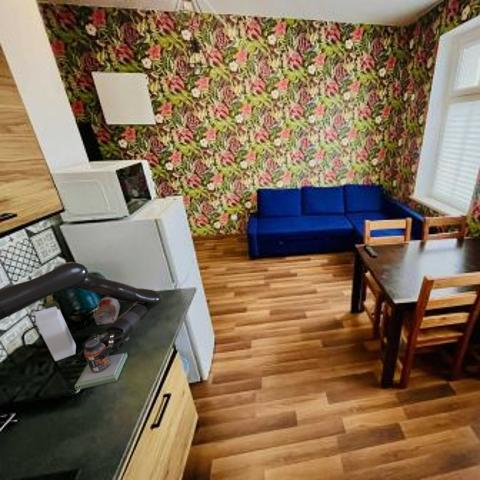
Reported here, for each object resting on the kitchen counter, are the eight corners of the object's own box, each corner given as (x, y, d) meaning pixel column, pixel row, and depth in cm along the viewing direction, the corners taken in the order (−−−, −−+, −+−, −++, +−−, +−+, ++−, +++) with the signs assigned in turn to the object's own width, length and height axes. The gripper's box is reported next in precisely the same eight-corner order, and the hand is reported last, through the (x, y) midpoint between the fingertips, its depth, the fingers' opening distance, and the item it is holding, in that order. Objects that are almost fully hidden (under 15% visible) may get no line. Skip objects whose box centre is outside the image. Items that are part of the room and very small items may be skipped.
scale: (75, 391, 92) (72, 385, 90) (91, 364, 102) (88, 358, 101) (117, 382, 95) (114, 376, 94) (128, 357, 106) (126, 351, 104)
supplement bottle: (100, 375, 94) (89, 350, 90) (87, 371, 95) (76, 347, 91) (115, 362, 100) (106, 338, 95) (103, 358, 101) (93, 335, 96)
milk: (76, 355, 106) (55, 310, 98) (55, 363, 103) (32, 316, 94) (76, 346, 111) (56, 302, 102) (56, 353, 107) (34, 308, 99)
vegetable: (57, 336, 116) (39, 298, 108) (56, 332, 118) (38, 294, 111) (71, 331, 119) (53, 293, 111) (69, 327, 121) (52, 289, 114)
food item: (118, 323, 124) (111, 306, 120) (96, 329, 120) (89, 311, 116) (122, 307, 135) (116, 291, 131) (102, 312, 131) (96, 295, 127)
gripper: (104, 317, 107) (66, 348, 91) (139, 318, 106) (106, 350, 91) (109, 331, 110) (73, 364, 94) (143, 333, 109) (113, 366, 94)
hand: (90, 357), depth 93 cm, fingers open, 6 cm apart
